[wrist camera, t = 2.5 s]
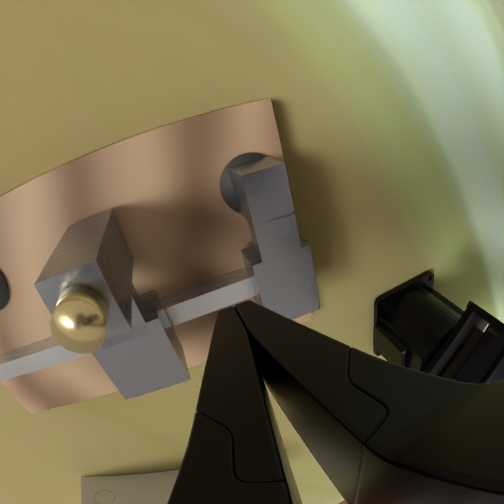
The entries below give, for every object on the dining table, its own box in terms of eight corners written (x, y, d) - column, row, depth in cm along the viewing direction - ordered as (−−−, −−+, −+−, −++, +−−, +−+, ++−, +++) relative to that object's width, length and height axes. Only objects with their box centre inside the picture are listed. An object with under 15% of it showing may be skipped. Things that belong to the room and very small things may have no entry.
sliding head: (124, 203, 14) (109, 270, 8) (180, 334, 18) (205, 434, 12) (59, 229, 14) (9, 310, 7) (124, 353, 17) (129, 455, 11)
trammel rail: (273, 153, 16) (295, 160, 14) (299, 286, 20) (319, 308, 17) (-53, 284, 12) (-72, 306, 10) (14, 383, 16) (7, 411, 14)
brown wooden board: (262, 99, 16) (271, 97, 15) (305, 310, 22) (314, 321, 21) (-72, 241, 12) (-82, 250, 11) (32, 401, 18) (29, 415, 17)
